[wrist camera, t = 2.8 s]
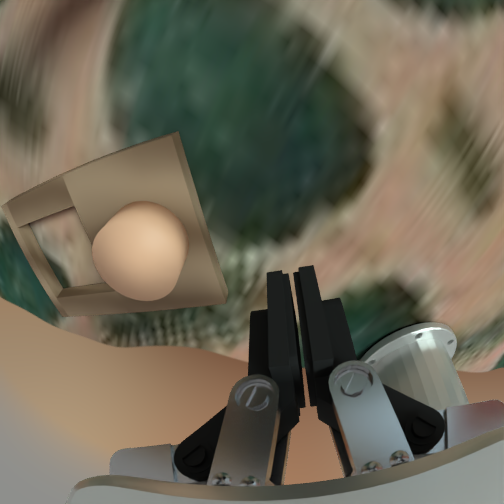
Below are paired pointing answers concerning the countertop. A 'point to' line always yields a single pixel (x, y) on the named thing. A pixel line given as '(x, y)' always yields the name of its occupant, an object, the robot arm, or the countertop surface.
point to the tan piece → (105, 207)
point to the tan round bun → (141, 251)
